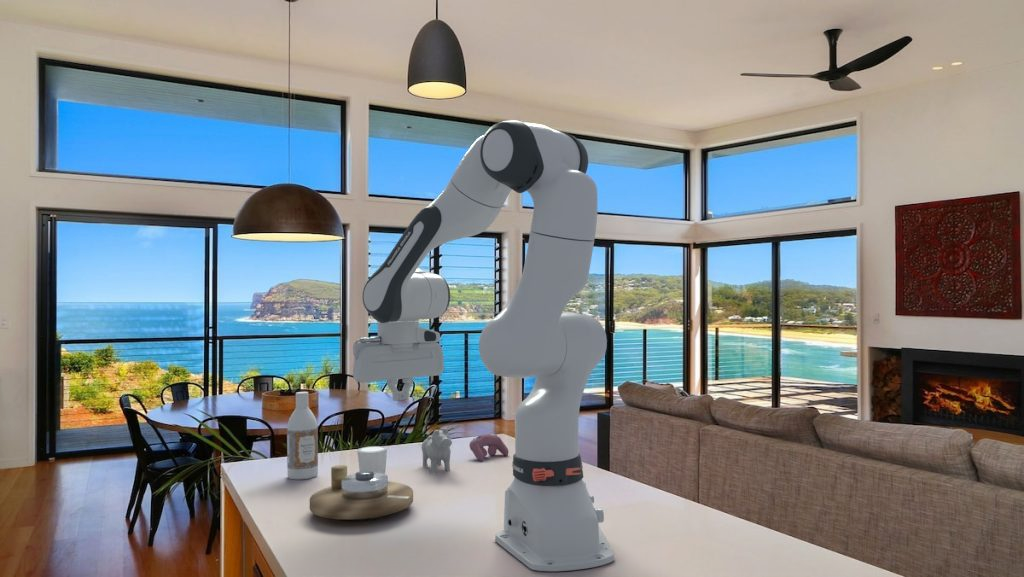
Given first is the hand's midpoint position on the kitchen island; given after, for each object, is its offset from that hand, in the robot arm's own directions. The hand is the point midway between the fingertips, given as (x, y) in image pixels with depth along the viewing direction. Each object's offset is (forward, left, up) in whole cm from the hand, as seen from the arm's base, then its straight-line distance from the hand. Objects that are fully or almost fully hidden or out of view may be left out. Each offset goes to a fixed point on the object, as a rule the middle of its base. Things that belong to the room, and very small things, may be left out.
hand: (400, 400), depth 143 cm
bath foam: (+22, +21, -21) cm, 37 cm away
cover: (-8, +8, -17) cm, 20 cm away
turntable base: (-9, +8, -20) cm, 24 cm away
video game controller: (+28, -25, -21) cm, 43 cm away
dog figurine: (+19, -11, -21) cm, 30 cm away
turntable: (-9, +8, -19) cm, 22 cm away
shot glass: (+15, +5, -21) cm, 26 cm away
